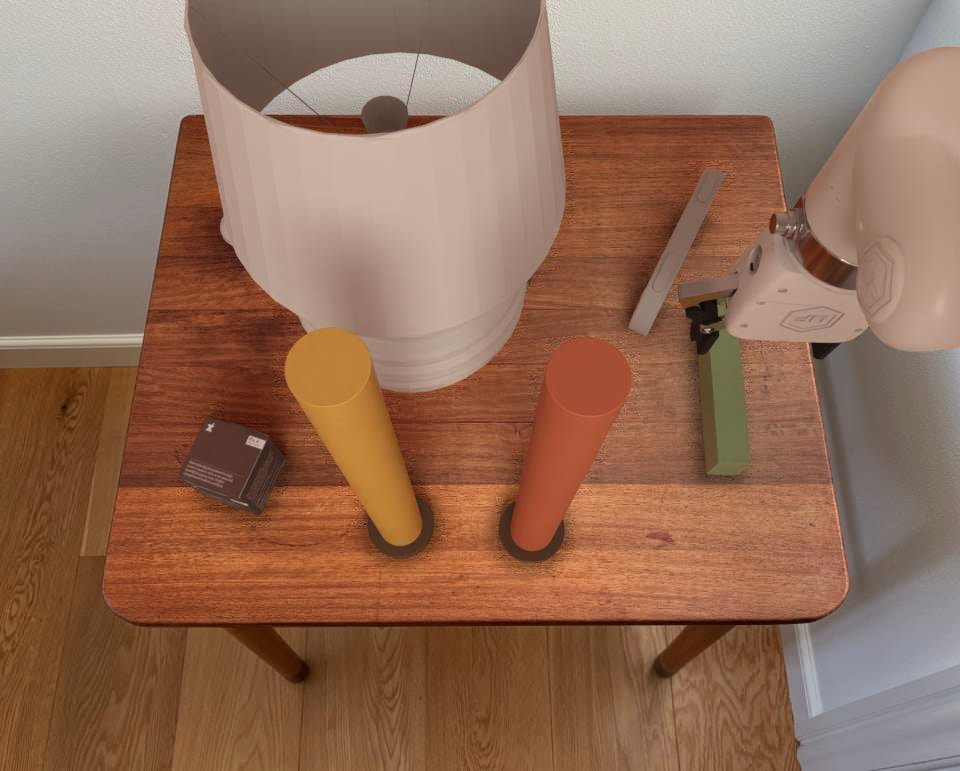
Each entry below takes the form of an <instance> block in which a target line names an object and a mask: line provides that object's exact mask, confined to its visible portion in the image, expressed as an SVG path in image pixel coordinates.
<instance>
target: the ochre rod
mask: <svg viewBox="0 0 960 771" xmlns="http://www.w3.org/2000/svg"><path fill="white" fill-rule="evenodd" d="M284 379H285V382H286V385H287V387H288V388H289V390H290V392H291V393H292V395H293V396H294V398H295V400H296V402H297V403H298V405H299V406H300V408H301V409H302V411H303V413H304V414H305V416H306V417H307V419H308V421H309V422H310V424H311V426H312V427H313V428H314V430H315V432H316V433H317V435H318V436H319V438H320V440H321V441H322V443H323V445H324V446H325V448H326V449H327V451H328V452H329V454H330V456H331V457H332V459H333V461H334V463H335V464H336V465H337V467H338V469H339V470H340V472H341V473H342V474H343V476H344V479H345V480H346V481H347V483H348V485H349V486H350V488H351V489H352V491H353V493H355V495H356V497H357V499H358V501H359V502H360V504H361V505H362V507H363V508H364V510H365V512H366V513H367V515H368V520H367V531H368V535H369V538H370V540H371V542H372V544H373V545H374V546H375V548H376V549H377V550H378V551H379V552H380V553H382V554H383V555H385V556H386V557H387V556H388V557H390V558H393V559H406V558H411V557H413V556H416V555H417V554H419V553H421V552H422V551H423V550H424V549H425V548H426V547H427V546H428V544H429V543H430V541H431V539H432V536H433V534H434V529H435V520H434V515H433V512H432V509H431V508H430V506H429V504H428V503H427V502H426V501H425V500H424V499H423V498H421V497H420V496H418V495H417V494H415V492H414V488H413V486H412V482H411V479H410V475H409V473H408V470H407V466H406V464H405V460H404V456H403V454H402V450H401V448H400V444H399V441H398V438H397V435H396V432H395V429H394V426H393V421H392V419H391V415H390V413H389V410H388V406H387V403H386V401H385V397H384V394H383V391H382V388H381V387H380V384H379V381H378V378H377V375H376V372H375V368H374V365H373V362H372V359H371V356H370V353H369V350H368V348H367V347H366V345H365V343H364V342H363V341H362V340H361V339H360V338H359V337H358V336H356V335H355V334H353V333H352V332H350V331H347V330H344V329H340V328H333V327H332V328H321V329H317V330H314V331H312V332H310V333H306V334H305V335H303V336H301V337H300V338H299V339H298V340H296V342H295V343H294V344H293V345H292V347H291V348H290V350H289V352H288V354H287V355H286V359H285V362H284Z"/></svg>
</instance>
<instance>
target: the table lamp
mask: <svg viewBox="0 0 960 771" xmlns="http://www.w3.org/2000/svg"><path fill="white" fill-rule="evenodd" d="M549 25H550V24H549V18H548V8H547V0H185V3H184V15H183V28H184V31H185V34H186V37H187V41H188V43H189V47H190V53H191V58H192V62H193V68H194V73H195V77H196V82H197V87H198V91H199V97H200V102H201V106H202V112H203V116H204V117H203V118H204V122H205V127H206V133H207V137H208V142H209V147H210V152H211V158H212V163H213V168H214V172H215V173H214V174H215V178H216V183H217V188H218V193H219V199H220V203H221V208H222V214H223V216H224V219H225V224H226V229H227V232H228V235H229V237H230V240H231V242H232V245H233V246H232V245H231V246H232V247H233V249H234V252H235V255H236V257H237V258H238V260H239V261H240V263H241V264H242V266H243V268H245V270H246V272H247V273H248V275H249V276H250V277H251V279H252V280H253V281H254V283H256V285H258V286H259V288H260V289H262V290H263V291H264V292H265V293H266V294H267V295H268V296H269V297H270V298H272V299H273V301H275V302H276V303H278V304H279V305H281V306H282V307H284V308H286V309H287V310H289V311H290V312H291V313H292V314H295V315H296V316H297V317H298V320H299V321H300V324H301V326H302V327H303V329H304V330H305V332H306V334H308V333H310V332H312V331H314V330H317V329H321V328H332V327H333V328H340V329H344V330H347V331H350V332H352V333H353V334H355V335H356V336H358V337H359V338H360V339H361V340H362V341H363V342H364V343H365V345H366V347H367V348H368V350H369V353H370V356H371V359H372V362H373V365H374V368H375V372H376V375H377V378H378V381H379V384H380V387H381V390H382V389H383V390H386V391H391V392H395V393H396V392H398V393H411V394H414V393H423V392H424V393H425V392H432V391H436V390H439V389H444V388H447V387H450V386H452V385H454V384H457V383H459V382H460V381H463V380H465V379H466V378H468V377H469V376H471V375H473V374H474V373H476V372H477V371H479V370H480V369H481V368H484V367H485V366H486V365H487V364H489V363H490V361H492V359H494V358H495V356H497V355H498V354H499V353H500V352H501V350H502V349H503V347H504V346H505V345H506V343H507V342H508V341H509V339H510V338H511V337H512V335H513V333H514V331H515V329H516V327H517V325H518V323H519V320H520V318H521V315H522V312H523V307H524V303H525V296H526V292H527V289H528V288H527V287H528V281H529V280H530V279H531V278H532V276H534V274H535V272H536V271H537V270H538V268H539V267H540V266H541V265H542V263H543V262H544V261H545V259H546V258H547V256H548V255H549V252H550V250H551V249H552V246H553V244H554V242H555V240H556V238H557V236H558V233H559V231H560V227H561V225H562V224H561V223H562V220H563V216H564V212H565V208H566V193H567V175H566V168H565V159H564V150H563V142H562V141H563V140H562V133H561V122H560V115H559V106H558V97H557V88H556V79H555V70H554V61H553V52H552V43H551V35H550V26H549ZM399 53H400V54H402V53H403V54H417V55H416V61H415V64H414V68H413V69H414V70H413V73H412V79H411V82H410V87H409V92H408V96H407V100H406V104H405V102H404V101H403V100H401V99H400V98H398V97H396V96H393V95H378V96H375V97H373V98H371V99H369V100H367V102H366V103H365V104H364V105H363V107H362V109H361V113H360V117H361V122H362V124H363V126H364V127H365V129H366V131H367V134H363V133H362V134H351V133H342V132H340V131H339V130H337V129H336V128H335V126H333V125H332V124H331V123H330V122H328V121H327V120H326V119H325V118H324V117H322V116H321V115H320V114H319V113H318V112H316V111H315V110H314V109H313V108H312V107H311V106H309V105H308V104H307V103H306V102H305V101H304V100H303V99H301V98H300V97H299V96H298V95H297V94H296V93H294V92H293V91H292V90H291V89H290V87H291V86H293V85H294V84H296V83H298V82H299V81H301V80H303V79H304V78H307V77H308V76H310V75H312V74H315V73H316V72H318V71H320V70H323V69H325V68H328V67H331V66H333V65H336V64H339V63H341V62H345V61H348V60H353V59H358V58H362V57H368V56H372V55H373V56H374V55H384V54H385V55H387V54H399ZM419 55H428V56H433V57H437V58H442V59H448V60H452V61H455V62H459V63H461V64H464V65H467V66H469V67H473V68H475V69H478V70H480V71H482V72H483V73H485V74H487V75H489V76H490V77H493V78H495V79H497V80H498V81H500V82H498V83H497V85H496V86H494V87H493V88H492V89H490V90H489V91H488V92H487V93H486V94H483V96H482V97H481V98H478V99H477V100H475V101H474V102H471V103H469V104H468V105H467V106H464V107H463V108H461V109H459V110H458V111H456V112H454V113H452V114H449V115H446V116H443V117H441V118H438V119H436V120H433V121H430V122H428V123H426V124H423V125H417V126H414V127H408V128H407V124H408V120H409V110H408V105H409V99H410V97H411V96H410V95H411V92H412V88H413V82H414V78H415V73H416V69H417V66H418V61H419ZM286 90H287V91H289V93H291V94H292V95H293V96H295V98H297V99H298V100H299V101H300V102H301V103H303V104H304V105H305V106H306V107H307V108H308V109H310V110H311V111H312V112H313V113H314V114H316V115H317V117H319V118H321V119H322V120H323V121H324V122H325V123H327V125H329V126H330V127H331V128H332V129H334V131H336V132H337V133H335V132H323V131H319V130H313V129H309V128H305V127H299V126H295V125H291V124H289V123H287V122H284V121H281V120H278V119H276V118H273V117H270V116H269V115H265V114H263V113H262V111H263V110H264V109H265V108H266V107H267V106H269V104H270V103H271V102H272V101H273V100H274V99H275V98H276V97H278V96H279V95H280V94H282V93H284V92H285V91H286Z"/></svg>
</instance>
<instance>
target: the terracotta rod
mask: <svg viewBox="0 0 960 771" xmlns="http://www.w3.org/2000/svg"><path fill="white" fill-rule="evenodd" d="M632 380H633V379H632V372H631V368H630V365H629V363H628V361H627V359H626V358H625V356H624V355H623V354H622V352H621V351H620V350H619V349H618V348H617V347H615V346H614V345H612V344H611V343H609V342H607V341H605V340H604V339H603V340H602V339H600V338H596V337H589V336H588V337H587V336H586V337H585V336H584V337H576V338H573V339H570V340H567V341H565V342H563V343H562V344H560V345H559V346H557V348H555V349H554V350H553V351H552V353H551V354H550V356H549V358H548V359H547V362H546V364H545V369H544V373H543V378H542V382H541V386H540V392H539V396H538V400H537V404H536V410H535V413H534V418H533V421H532V428H531V431H530V434H529V435H530V436H529V440H528V444H527V449H526V454H525V458H524V461H523V467H522V471H521V476H520V481H519V485H518V490H517V494H516V498H515V501H513V502H512V503H510V504H509V505H508V506H507V507H506V508H505V510H503V512H502V515H501V517H500V520H499V524H498V536H499V540H500V543H501V544H502V547H503V549H504V550H505V551H506V553H507V554H508V555H509V556H510V557H512V558H513V559H514V560H516V561H518V562H521V563H524V564H530V565H531V564H532V565H533V564H540V563H543V562H547V561H548V560H550V559H551V558H552V557H553V556H555V555H556V554H557V552H559V549H561V547H562V544H563V542H564V539H565V532H566V531H565V529H566V528H565V527H566V526H565V524H564V523H565V522H564V517H565V516H566V513H567V511H568V510H569V508H570V506H571V504H572V502H573V500H574V499H575V496H576V495H577V493H578V490H579V489H580V487H581V485H582V483H583V481H584V479H585V477H586V476H587V474H588V472H589V470H590V468H591V466H592V464H593V462H594V461H595V459H596V457H597V455H598V454H599V451H600V449H601V447H602V445H603V444H604V442H605V440H606V438H607V436H608V434H609V432H610V431H611V428H612V427H613V425H614V423H615V421H616V420H617V417H618V415H619V413H620V412H621V410H622V408H623V407H624V404H625V403H626V400H627V399H628V396H629V395H630V392H631V388H632V382H633V381H632Z"/></svg>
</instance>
